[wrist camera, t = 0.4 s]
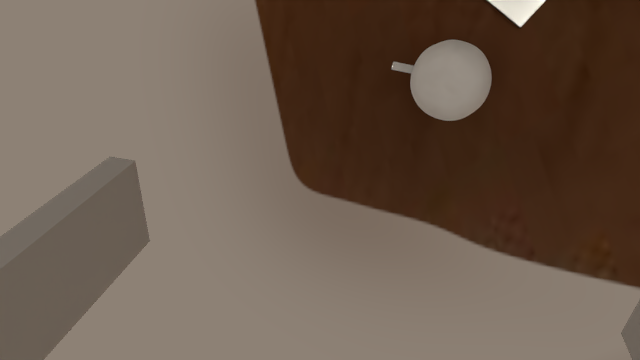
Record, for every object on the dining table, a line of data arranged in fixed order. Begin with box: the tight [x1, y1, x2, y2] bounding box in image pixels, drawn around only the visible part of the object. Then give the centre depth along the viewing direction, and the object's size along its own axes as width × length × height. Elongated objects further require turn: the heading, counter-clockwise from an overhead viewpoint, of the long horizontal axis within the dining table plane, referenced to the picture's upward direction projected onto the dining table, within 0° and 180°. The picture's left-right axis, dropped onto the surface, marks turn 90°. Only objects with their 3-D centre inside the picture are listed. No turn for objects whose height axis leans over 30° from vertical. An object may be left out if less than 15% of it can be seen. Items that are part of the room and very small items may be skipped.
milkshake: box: [391, 40, 492, 121], centre depth 29 cm, size 4×5×10 cm
